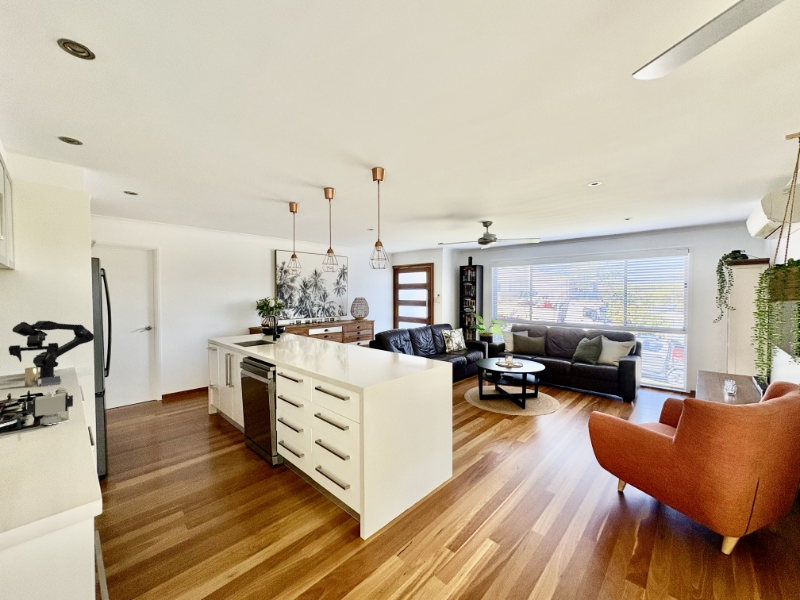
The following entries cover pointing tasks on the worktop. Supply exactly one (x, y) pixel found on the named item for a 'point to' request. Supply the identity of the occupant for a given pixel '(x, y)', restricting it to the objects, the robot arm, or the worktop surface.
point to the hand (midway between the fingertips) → (33, 360)
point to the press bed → (50, 381)
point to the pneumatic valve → (50, 407)
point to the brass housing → (31, 376)
